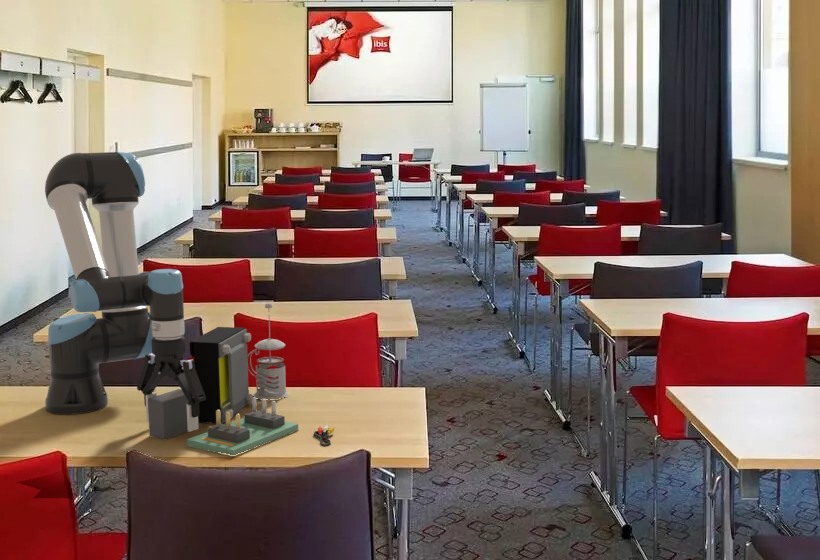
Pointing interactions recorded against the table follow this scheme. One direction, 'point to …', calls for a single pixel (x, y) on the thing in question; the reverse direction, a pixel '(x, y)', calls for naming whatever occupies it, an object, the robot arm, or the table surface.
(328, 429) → the composite cable
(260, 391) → the french press
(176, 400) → the block
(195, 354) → the electrical component
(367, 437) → the table surface
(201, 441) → the header board
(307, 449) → the table surface
